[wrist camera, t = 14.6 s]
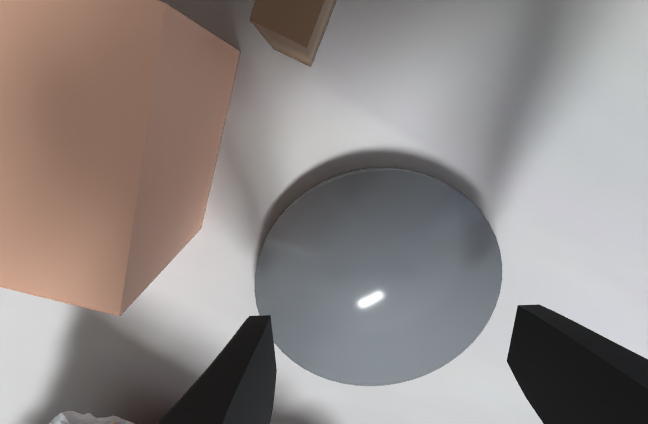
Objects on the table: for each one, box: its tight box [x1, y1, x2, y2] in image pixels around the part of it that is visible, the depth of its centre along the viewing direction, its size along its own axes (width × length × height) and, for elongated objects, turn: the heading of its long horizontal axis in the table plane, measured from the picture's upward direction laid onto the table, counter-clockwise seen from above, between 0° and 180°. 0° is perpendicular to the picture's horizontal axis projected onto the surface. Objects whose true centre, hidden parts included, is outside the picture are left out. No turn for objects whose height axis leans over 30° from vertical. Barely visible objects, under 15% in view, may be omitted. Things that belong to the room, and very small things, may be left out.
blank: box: [0, 0, 240, 316], centre depth 8 cm, size 4×6×5 cm, turn 162°
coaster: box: [255, 167, 502, 386], centre depth 12 cm, size 9×9×1 cm
